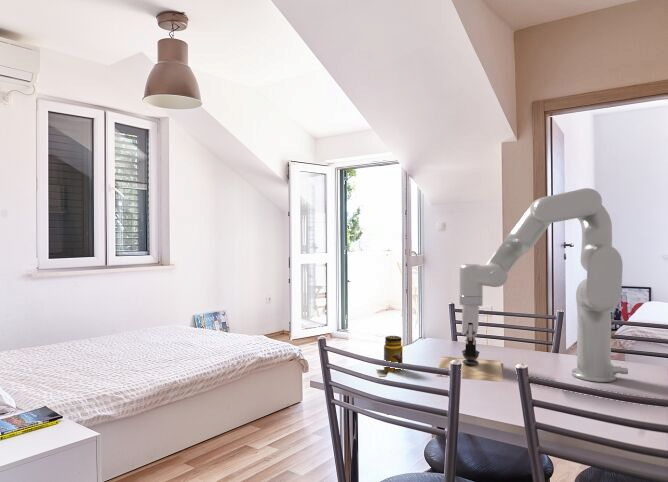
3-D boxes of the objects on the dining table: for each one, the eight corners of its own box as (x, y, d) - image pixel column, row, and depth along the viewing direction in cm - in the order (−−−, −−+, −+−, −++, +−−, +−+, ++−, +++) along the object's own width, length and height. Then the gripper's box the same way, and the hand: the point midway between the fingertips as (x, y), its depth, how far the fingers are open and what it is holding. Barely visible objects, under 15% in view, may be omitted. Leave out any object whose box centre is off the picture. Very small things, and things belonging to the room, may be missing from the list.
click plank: (500, 364, 170) (500, 360, 169) (502, 376, 158) (502, 372, 158) (441, 360, 175) (441, 356, 175) (438, 371, 164) (438, 367, 164)
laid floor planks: (502, 376, 158) (502, 372, 158) (503, 385, 148) (503, 381, 148) (438, 371, 163) (438, 367, 163) (436, 380, 154) (436, 376, 154)
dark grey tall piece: (481, 361, 168) (481, 326, 167) (476, 365, 163) (476, 329, 162) (464, 359, 171) (464, 324, 170) (459, 363, 166) (459, 327, 166)
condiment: (405, 376, 158) (405, 339, 158) (379, 376, 158) (379, 339, 157) (401, 370, 165) (401, 334, 165) (376, 370, 165) (376, 334, 165)
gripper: (460, 297, 176) (460, 347, 176) (458, 303, 159) (458, 359, 159) (482, 297, 173) (482, 349, 174) (482, 304, 157) (482, 361, 157)
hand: (470, 353), depth 167 cm, fingers closed on dark grey tall piece, 5 cm apart
